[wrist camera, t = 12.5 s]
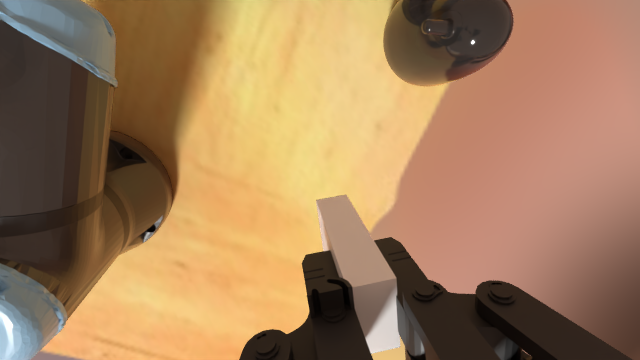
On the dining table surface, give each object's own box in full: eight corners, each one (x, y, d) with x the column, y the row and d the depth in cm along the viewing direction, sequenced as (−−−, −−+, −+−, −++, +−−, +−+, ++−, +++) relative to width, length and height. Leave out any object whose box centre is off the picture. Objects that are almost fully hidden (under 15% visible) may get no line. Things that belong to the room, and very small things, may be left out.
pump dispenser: (373, -10, 36) (439, -58, 22) (459, -7, 38) (572, -51, 24) (369, 84, 40) (423, 95, 26) (448, 84, 41) (540, 93, 27)
